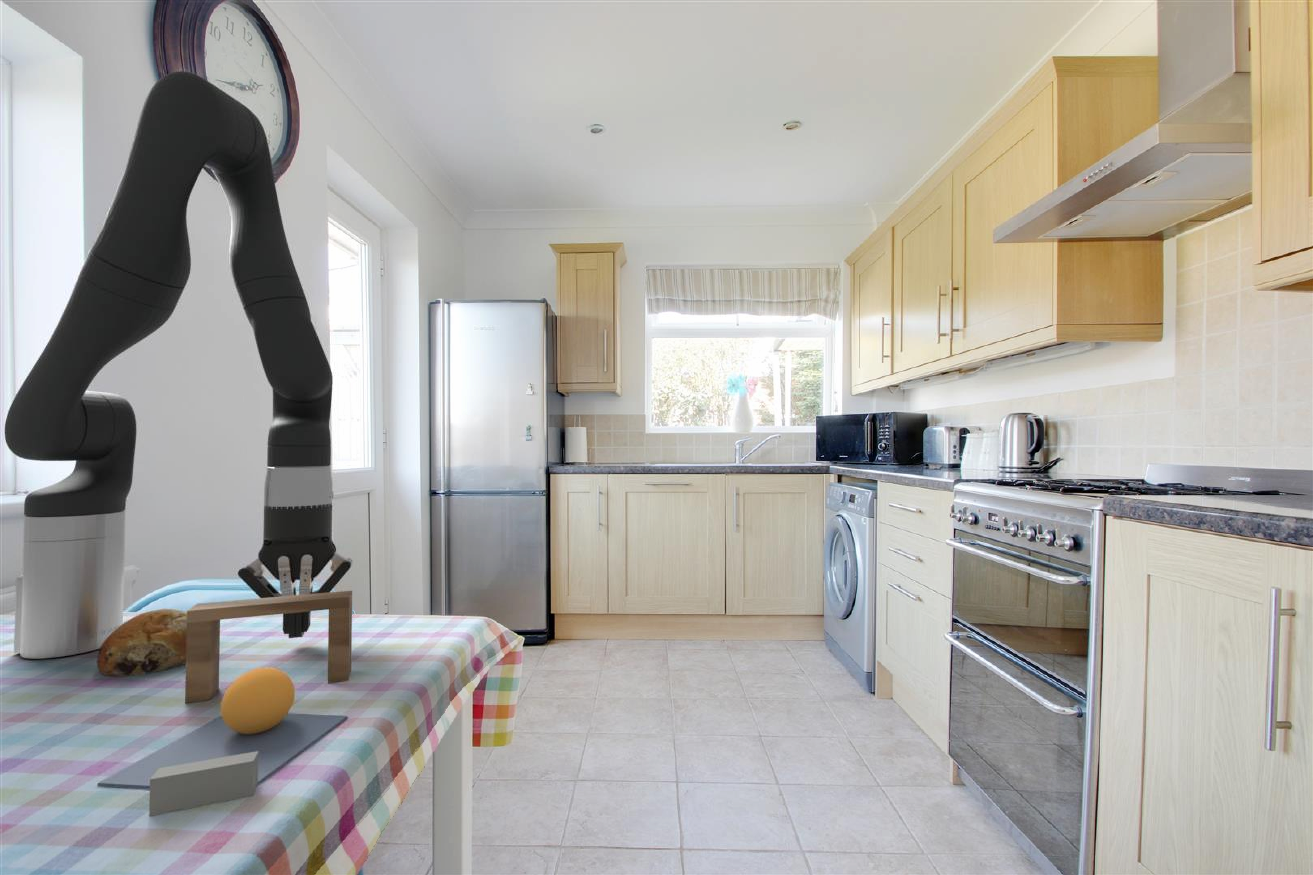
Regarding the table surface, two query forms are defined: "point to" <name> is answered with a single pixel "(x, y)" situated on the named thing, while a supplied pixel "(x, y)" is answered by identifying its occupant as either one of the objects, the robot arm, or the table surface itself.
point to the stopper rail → (203, 783)
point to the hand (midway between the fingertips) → (296, 635)
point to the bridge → (208, 615)
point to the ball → (257, 700)
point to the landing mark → (231, 747)
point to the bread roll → (145, 644)
